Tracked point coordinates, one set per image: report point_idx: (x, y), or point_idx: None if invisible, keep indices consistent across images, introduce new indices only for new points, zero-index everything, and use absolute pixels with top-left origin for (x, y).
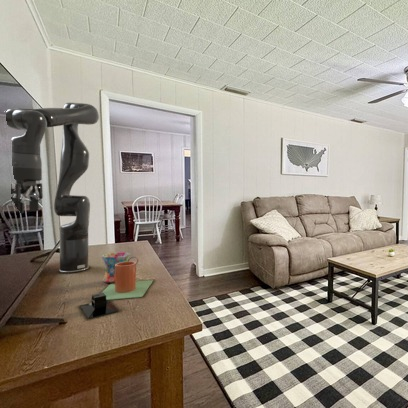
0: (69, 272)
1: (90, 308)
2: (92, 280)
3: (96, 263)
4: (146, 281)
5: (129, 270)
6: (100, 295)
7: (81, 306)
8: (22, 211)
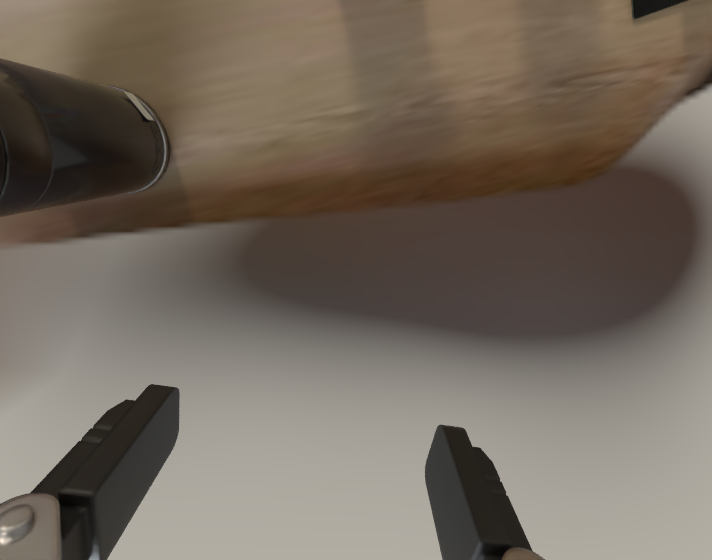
0: (168, 150)
1: None
2: (314, 34)
3: None
4: None
5: None
6: None
7: (651, 12)
8: (467, 438)
